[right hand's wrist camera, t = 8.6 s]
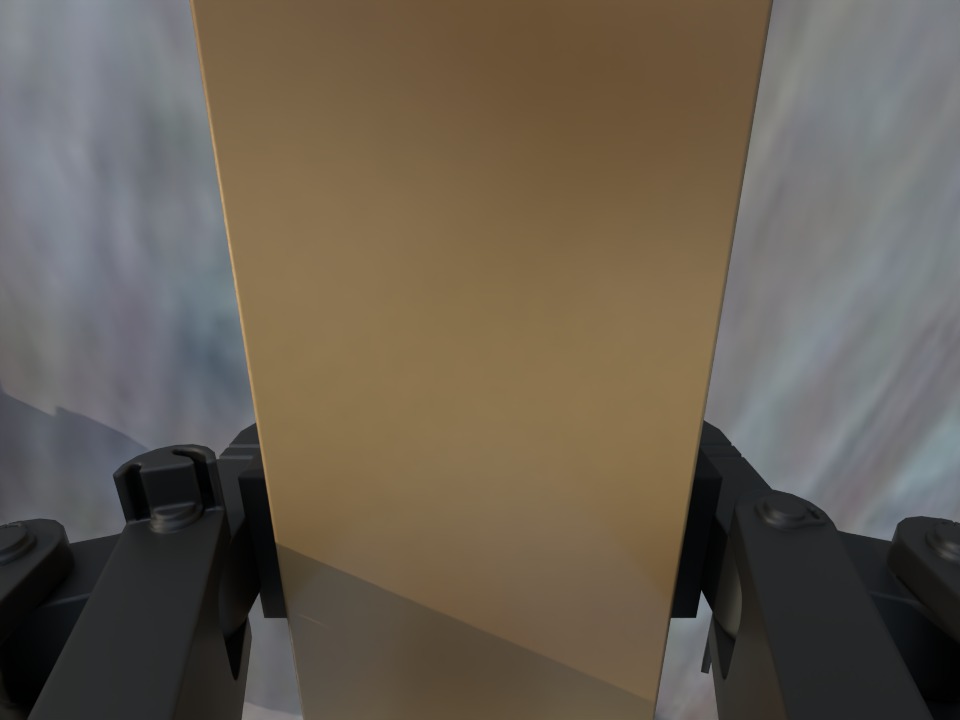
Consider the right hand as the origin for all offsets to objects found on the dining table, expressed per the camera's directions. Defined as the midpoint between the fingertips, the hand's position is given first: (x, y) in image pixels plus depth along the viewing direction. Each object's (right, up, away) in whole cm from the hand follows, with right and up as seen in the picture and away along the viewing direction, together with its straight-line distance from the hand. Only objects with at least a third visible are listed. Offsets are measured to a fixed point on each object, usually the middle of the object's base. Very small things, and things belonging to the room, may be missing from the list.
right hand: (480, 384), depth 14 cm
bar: (0, -17, +7) cm, 18 cm away
